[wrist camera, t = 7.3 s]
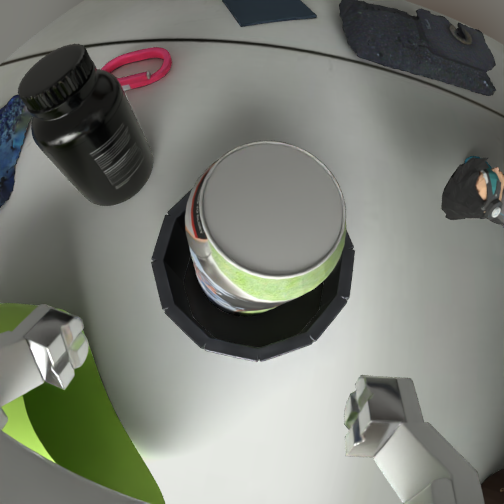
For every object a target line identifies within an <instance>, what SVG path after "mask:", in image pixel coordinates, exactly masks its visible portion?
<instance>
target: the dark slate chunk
mask: <svg viewBox="0 0 504 504" xmlns="http://www.w3.org/2000/svg"><path fill="white" fill-rule="evenodd" d="M339 7H340V17H341V19H342V21H343V30H344V32H345V35H346V37H347V40H348V44H349V45H350V46H351V48H352V49H353V51H355V52H356V53H357V56H358V57H360V58H363V59H367V60H370V61H373V62H376V63H379V64H382V65H383V66H389V67H391V68H394V69H400V70H403V71H408V72H410V73H412V74H416V75H422V76H424V77H428V78H431V79H436V80H439V81H442V82H445V83H448V84H454V85H455V86H459V87H462V88H465V89H469V90H471V91H473V92H476V93H481V94H483V95H487V96H491V95H493V91H494V92H495V91H496V89H495V87H494V86H493V84H492V82H491V81H490V78H489V77H488V75H487V71H489V70H492V68H493V67H494V66H495V65H496V64H495V60H494V57H493V55H492V53H491V51H490V49H489V48H488V46H487V44H486V43H485V39H484V36H483V34H482V32H481V31H479V30H477V29H473V28H469V27H467V26H466V25H463V24H461V23H458V24H457V25H458V28H457V29H456V28H455V27H454V26H453V25H452V24H451V23H450V22H449V21H448V20H447V19H446V18H445V17H443V16H436V15H433V14H431V13H430V12H429V11H427V10H424V9H418V10H416V13H417V17H415V16H410V15H408V14H407V12H404V11H400V10H398V9H395V8H389V7H384V6H381V5H374V4H368V3H366V2H364V1H358V0H342V1H341V3H340V4H339Z"/></svg>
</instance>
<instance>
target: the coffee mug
mask: <svg viewBox="0 0 504 504" xmlns="http://www.w3.org/2000/svg"><path fill="white" fill-rule="evenodd" d="M481 489H482V493H483V498H484V503H485V504H504V469H501V470H499V471H497V472H495V473H494V474H492V475H491V476H490V477H489V478H487V479H486V480H485V481H484V482H483V484H482V485H481Z"/></svg>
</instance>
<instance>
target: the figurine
mask: <svg viewBox="0 0 504 504" xmlns="http://www.w3.org/2000/svg"><path fill="white" fill-rule="evenodd" d="M487 159H488V158H480V157H476V156H470V157H469V158H467V159H466V160H465V163H464V164H462V165H459V167H458V168H457V169H456V171H455V172H454V173H453V175H452V176H451V178H450V179H449V181H448V183H447V185H446V187H445V188H444V192H443V195H442V208H441V209H442V210H443V211H444V212H445V213H446V216H445V217H446V218H448V219H450V220H457V219H465V218H480V219H485V218H487V219H489V220H490V221H492V222H494V223H497V224H502V226H503V228H504V175H503V174H502V172H501V171H500V170H499V168H498V167H495V168H493V169H492V168H491V166H490V165H489V164H488V163H487V162H486V160H487Z"/></svg>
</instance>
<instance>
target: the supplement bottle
mask: <svg viewBox="0 0 504 504" xmlns="http://www.w3.org/2000/svg"><path fill="white" fill-rule="evenodd" d="M18 94H19V97H20V99H21V100H22V101H23V103H24V104H25V105H26V106H27V110H28V111H29V113H30V114H31V115H32V116H33V118H32V125H31V130H32V136H33V139H34V141H35V143H36V144H37V145H38V147H39V148H40V149H41V150H42V151H43V153H44V154H45V155H46V156H47V157H48V158H49V159H50V160H51V162H52V163H53V164H54V165H55V166H56V167H57V168H58V169H59V170H60V171H61V173H62V174H63V175H64V176H65V177H66V178H67V179H68V180H69V181H70V182H71V183H72V184H73V185H74V186H75V188H76V189H77V190H78V191H79V192H80V193H81V194H82V195H83V196H84V197H85V198H86V199H88V200H89V201H90V202H92V203H94V204H97V205H101V206H111V205H116V204H119V203H122V202H124V201H126V200H128V199H130V198H131V197H133V196H134V195H135V194H136V193H138V192H139V191H140V190H141V188H142V187H143V186H144V185H145V183H146V182H147V180H148V178H149V176H150V174H151V171H152V168H153V154H152V150H151V148H150V146H149V144H148V141H147V139H146V137H145V135H144V133H143V131H142V129H141V127H140V125H139V122H138V120H137V118H136V116H135V114H134V112H133V110H132V108H131V105H130V103H129V101H128V99H127V97H126V95H125V93H124V90H123V88H122V86H121V84H120V82H119V81H118V79H117V78H116V77H115V76H114V75H113V74H111V73H109V72H107V71H104V70H100V69H96V66H95V64H94V62H93V61H92V60H91V58H90V56H89V54H88V52H87V50H86V48H85V47H84V46H83V45H80V44H72V45H67V46H63V47H61V48H58V49H57V50H55V51H53V52H51V53H50V54H48V55H46V56H45V57H44V58H42V59H41V60H39V61H38V62H37V63H36V64H35V65H34V66H33V67H32V68H31V69H30V70H29V71H28V72H27V73H26V74H25V76H24V78H23V79H22V81H21V83H20V86H19V88H18Z"/></svg>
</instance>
